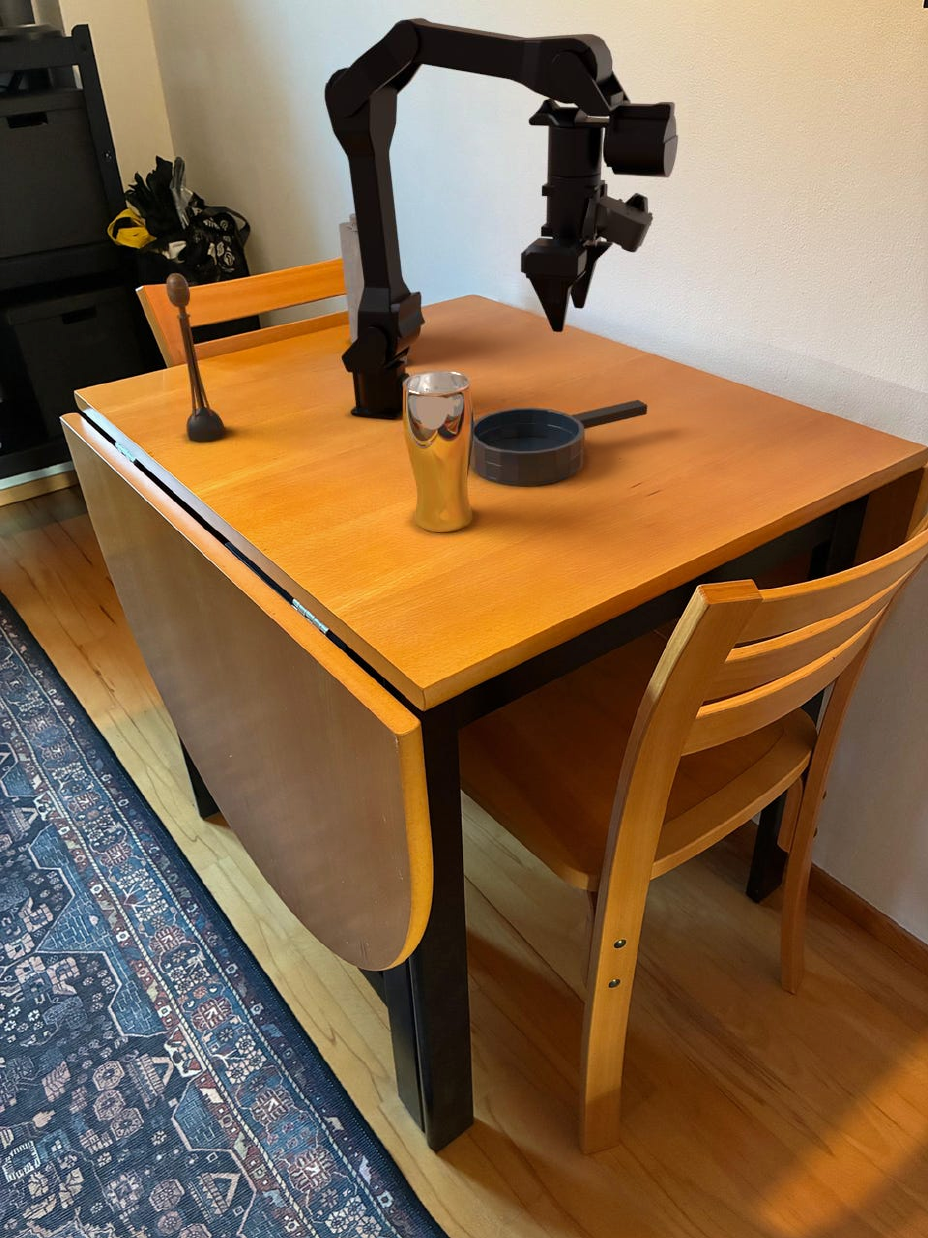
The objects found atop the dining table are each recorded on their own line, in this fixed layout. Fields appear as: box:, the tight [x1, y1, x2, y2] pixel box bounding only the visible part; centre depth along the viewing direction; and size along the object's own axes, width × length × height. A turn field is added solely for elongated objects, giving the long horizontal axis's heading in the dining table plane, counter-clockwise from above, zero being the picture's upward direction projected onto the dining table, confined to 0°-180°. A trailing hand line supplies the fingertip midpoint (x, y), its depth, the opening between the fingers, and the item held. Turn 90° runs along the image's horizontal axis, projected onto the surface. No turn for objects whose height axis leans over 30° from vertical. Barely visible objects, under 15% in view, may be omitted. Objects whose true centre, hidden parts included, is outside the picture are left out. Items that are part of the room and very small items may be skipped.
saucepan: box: [469, 407, 586, 487], centre depth 112 cm, size 13×13×4 cm
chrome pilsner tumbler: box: [402, 369, 475, 533], centre depth 98 cm, size 7×7×15 cm
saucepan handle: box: [570, 399, 648, 430], centre depth 115 cm, size 10×2×1 cm, turn 116°
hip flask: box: [338, 212, 408, 366], centre depth 142 cm, size 16×4×20 cm, turn 29°
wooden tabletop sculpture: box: [165, 272, 227, 443], centre depth 119 cm, size 6×5×20 cm
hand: (568, 319), depth 112 cm, fingers open, 9 cm apart
